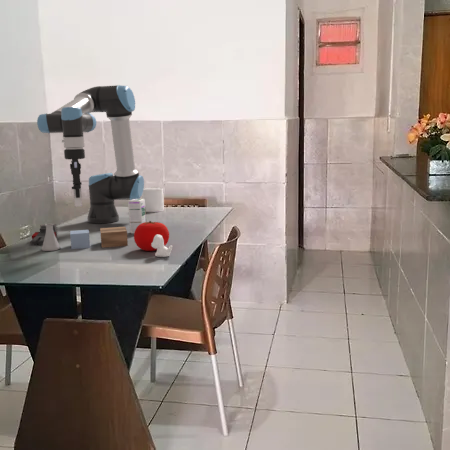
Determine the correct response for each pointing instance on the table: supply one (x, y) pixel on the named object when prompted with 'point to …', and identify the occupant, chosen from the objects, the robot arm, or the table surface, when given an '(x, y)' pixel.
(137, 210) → the syrup box
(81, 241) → the blue brick
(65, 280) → the table surface
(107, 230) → the base block
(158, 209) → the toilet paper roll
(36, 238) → the toy
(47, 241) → the flask
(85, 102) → the robot arm
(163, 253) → the figurine
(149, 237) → the tomato
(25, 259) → the table surface
